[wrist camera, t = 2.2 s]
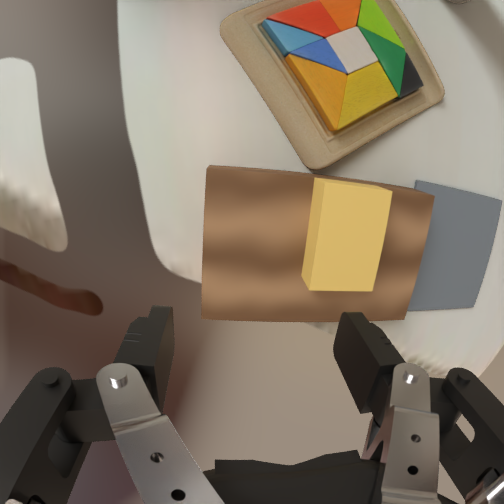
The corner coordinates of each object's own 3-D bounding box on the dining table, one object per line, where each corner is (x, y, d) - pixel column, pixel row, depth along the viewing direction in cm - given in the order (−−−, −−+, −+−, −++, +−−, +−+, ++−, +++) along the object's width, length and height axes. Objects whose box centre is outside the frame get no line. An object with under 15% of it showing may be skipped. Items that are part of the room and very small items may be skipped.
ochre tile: (314, 177, 26) (325, 182, 23) (376, 185, 26) (392, 191, 24) (301, 275, 29) (309, 290, 26) (359, 277, 29) (372, 291, 27)
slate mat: (415, 180, 30) (417, 180, 30) (500, 200, 32) (502, 200, 32) (387, 310, 36) (388, 311, 35) (471, 305, 37) (473, 307, 37)
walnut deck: (209, 165, 29) (206, 168, 25) (414, 188, 31) (434, 195, 27) (203, 299, 33) (201, 318, 30) (389, 302, 35) (404, 319, 32)
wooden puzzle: (439, 100, 28) (458, 98, 25) (307, 173, 30) (317, 178, 27) (362, -27, 22) (375, -40, 19) (214, 29, 24) (212, 16, 21)
